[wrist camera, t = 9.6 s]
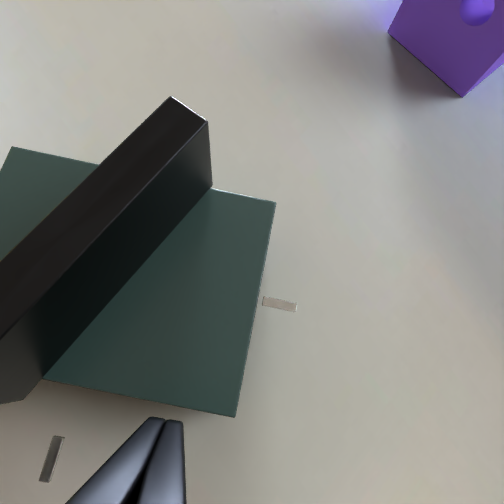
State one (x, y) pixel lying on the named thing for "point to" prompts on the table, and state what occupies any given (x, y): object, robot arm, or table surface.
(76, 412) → the table surface
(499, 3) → the bracket
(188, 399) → the dark green flat block
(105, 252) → the black bar
